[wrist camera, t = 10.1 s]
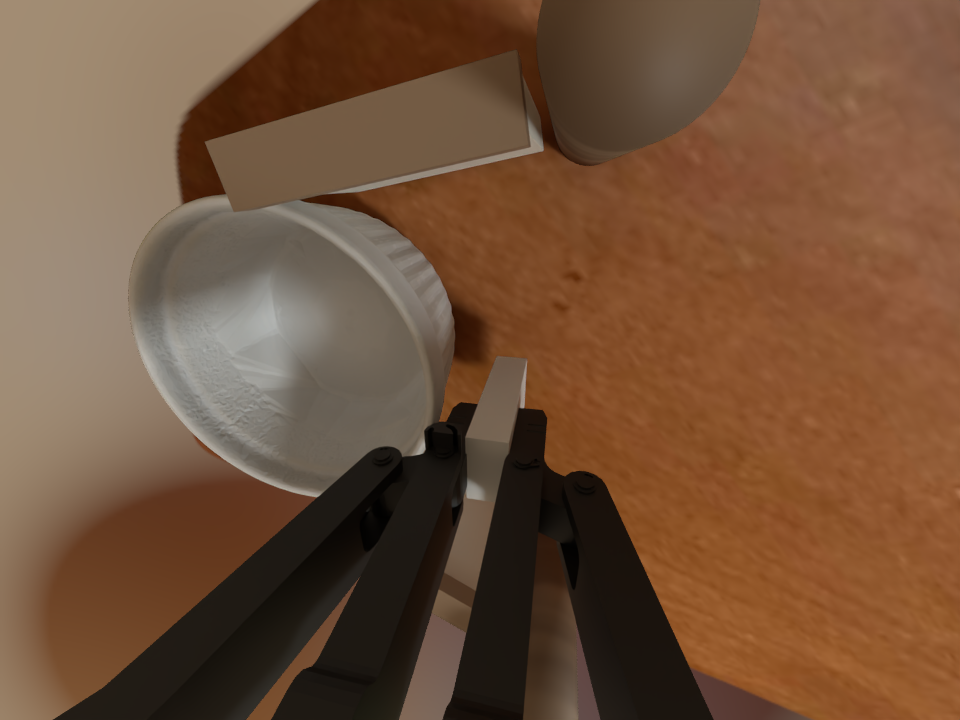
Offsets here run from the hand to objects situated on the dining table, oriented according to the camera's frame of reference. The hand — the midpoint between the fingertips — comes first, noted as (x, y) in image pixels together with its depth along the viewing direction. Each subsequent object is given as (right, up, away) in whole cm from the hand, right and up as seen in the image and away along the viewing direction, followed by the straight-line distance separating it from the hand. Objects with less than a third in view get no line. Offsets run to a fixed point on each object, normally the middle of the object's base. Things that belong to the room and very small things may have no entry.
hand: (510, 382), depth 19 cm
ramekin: (-8, +3, +3) cm, 9 cm away
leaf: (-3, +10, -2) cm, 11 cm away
